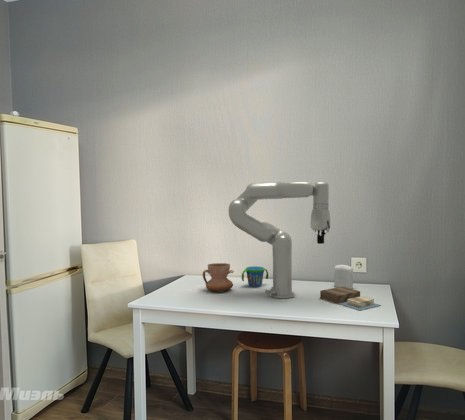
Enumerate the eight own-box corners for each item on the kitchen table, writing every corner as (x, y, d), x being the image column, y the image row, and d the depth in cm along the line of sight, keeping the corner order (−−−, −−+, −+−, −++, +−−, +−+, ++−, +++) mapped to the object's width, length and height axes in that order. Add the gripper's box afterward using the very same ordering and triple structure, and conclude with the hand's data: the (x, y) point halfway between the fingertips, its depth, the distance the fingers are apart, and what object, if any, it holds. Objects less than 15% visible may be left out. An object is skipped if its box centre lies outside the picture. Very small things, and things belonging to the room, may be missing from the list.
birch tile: (347, 299, 203) (347, 304, 203) (358, 302, 197) (358, 307, 197) (362, 296, 208) (362, 300, 208) (373, 299, 202) (373, 304, 202)
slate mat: (359, 310, 194) (359, 309, 194) (338, 304, 205) (338, 303, 205) (380, 305, 201) (380, 305, 201) (359, 299, 212) (359, 298, 212)
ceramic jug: (238, 288, 238) (238, 262, 237) (229, 294, 224) (228, 267, 224) (208, 286, 244) (208, 261, 244) (197, 292, 231) (196, 266, 230)
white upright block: (354, 287, 235) (354, 265, 235) (351, 289, 232) (351, 266, 231) (336, 285, 242) (336, 263, 241) (333, 286, 238) (333, 264, 237)
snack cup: (265, 282, 250) (265, 265, 249) (271, 287, 240) (271, 268, 239) (239, 284, 246) (239, 267, 246) (244, 289, 236) (244, 270, 236)
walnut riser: (337, 304, 205) (337, 295, 204) (320, 298, 215) (320, 290, 215) (360, 299, 212) (360, 291, 212) (342, 294, 223) (342, 286, 222)
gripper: (305, 206, 221) (305, 242, 222) (325, 207, 208) (325, 245, 209) (316, 205, 224) (316, 241, 226) (337, 207, 212) (336, 244, 213)
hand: (320, 243), depth 217 cm, fingers closed
